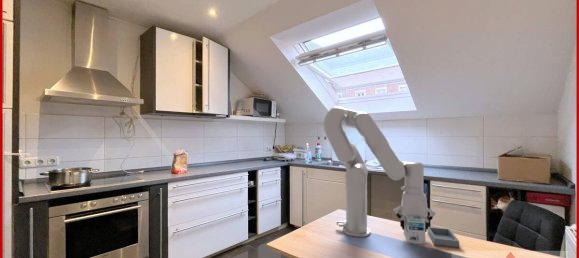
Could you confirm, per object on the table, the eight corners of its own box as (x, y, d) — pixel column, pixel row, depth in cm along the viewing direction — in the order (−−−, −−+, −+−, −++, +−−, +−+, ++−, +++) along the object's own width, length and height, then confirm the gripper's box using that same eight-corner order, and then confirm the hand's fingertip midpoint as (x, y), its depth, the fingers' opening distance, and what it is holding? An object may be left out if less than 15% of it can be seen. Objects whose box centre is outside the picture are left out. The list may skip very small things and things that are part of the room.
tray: (434, 245, 109) (434, 238, 109) (427, 233, 122) (427, 226, 122) (459, 248, 107) (459, 241, 107) (449, 235, 119) (449, 228, 119)
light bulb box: (425, 244, 110) (425, 219, 110) (408, 243, 112) (408, 218, 111) (418, 234, 121) (418, 211, 120) (403, 233, 122) (403, 210, 122)
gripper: (393, 190, 115) (393, 230, 115) (438, 193, 110) (438, 235, 110) (391, 187, 122) (391, 224, 122) (433, 189, 117) (433, 228, 117)
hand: (413, 229), depth 116 cm, fingers open, 8 cm apart
